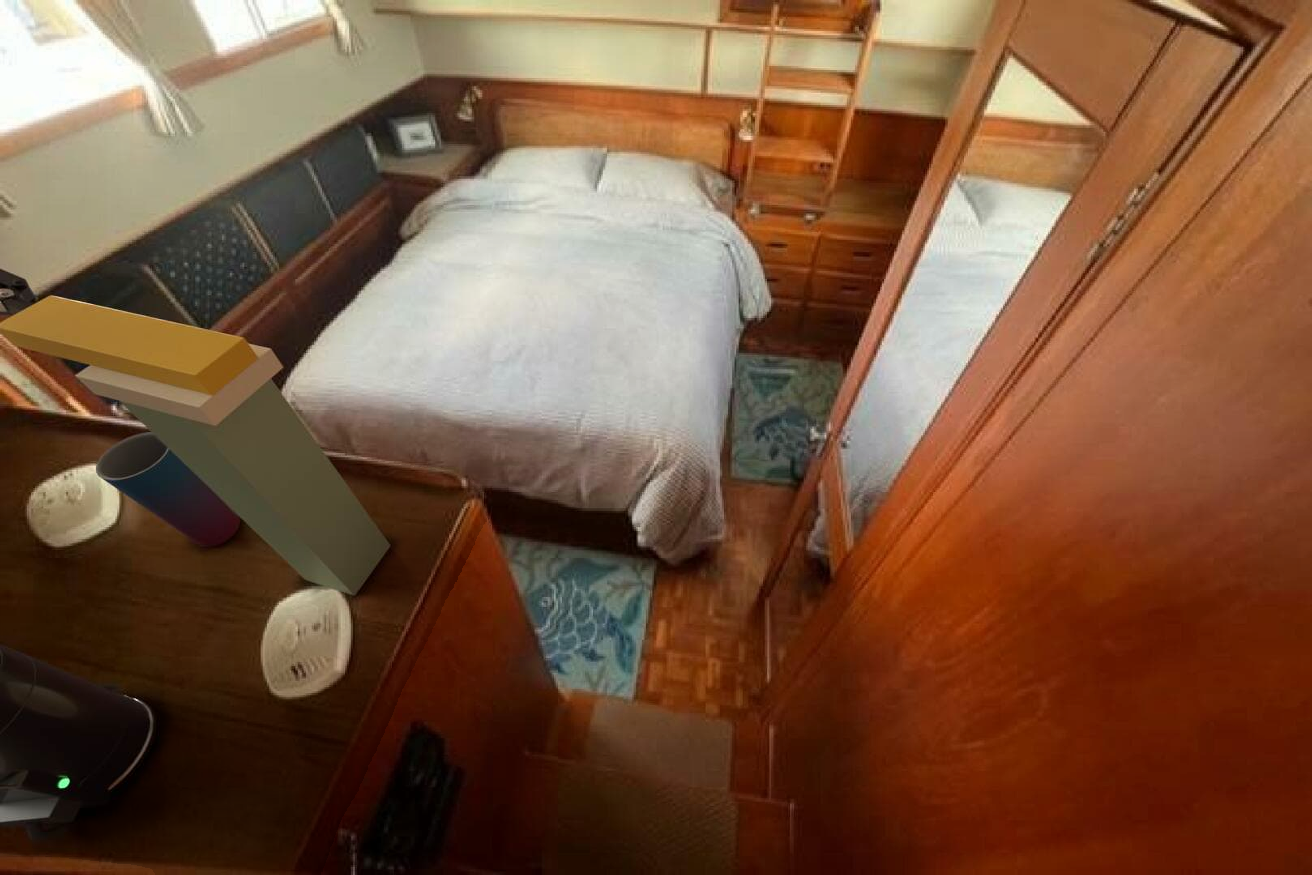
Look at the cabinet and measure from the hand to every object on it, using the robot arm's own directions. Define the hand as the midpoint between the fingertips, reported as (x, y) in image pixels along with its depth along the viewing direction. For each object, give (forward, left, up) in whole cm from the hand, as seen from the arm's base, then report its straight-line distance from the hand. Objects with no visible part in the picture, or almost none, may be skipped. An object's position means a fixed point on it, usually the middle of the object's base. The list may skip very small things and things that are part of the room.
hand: (2, 348), depth 52 cm
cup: (-4, -6, -27) cm, 28 cm away
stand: (-11, -25, -27) cm, 38 cm away
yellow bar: (-9, -21, +5) cm, 23 cm away
